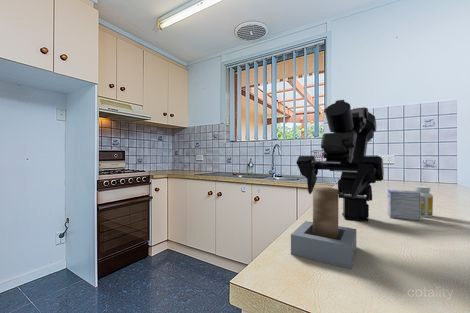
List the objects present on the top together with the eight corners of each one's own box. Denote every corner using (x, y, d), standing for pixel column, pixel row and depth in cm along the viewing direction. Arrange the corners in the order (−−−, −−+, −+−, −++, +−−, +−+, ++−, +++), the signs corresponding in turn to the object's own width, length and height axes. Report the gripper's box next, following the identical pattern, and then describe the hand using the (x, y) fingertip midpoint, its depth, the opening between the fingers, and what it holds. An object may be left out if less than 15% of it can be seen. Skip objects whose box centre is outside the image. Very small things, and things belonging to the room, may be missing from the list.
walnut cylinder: (308, 250, 47) (308, 189, 47) (319, 243, 51) (319, 186, 51) (332, 258, 44) (332, 191, 44) (342, 250, 47) (342, 189, 47)
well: (351, 268, 39) (351, 246, 39) (290, 253, 45) (290, 234, 45) (356, 247, 49) (356, 228, 49) (305, 237, 55) (305, 220, 55)
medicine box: (416, 217, 72) (416, 190, 72) (421, 221, 68) (421, 192, 68) (387, 214, 75) (387, 189, 75) (390, 218, 71) (390, 191, 71)
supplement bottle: (416, 216, 72) (416, 187, 72) (408, 212, 77) (408, 185, 77) (436, 218, 71) (436, 188, 71) (427, 214, 76) (427, 185, 76)
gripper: (299, 125, 59) (279, 169, 51) (382, 118, 48) (375, 173, 39) (309, 154, 66) (294, 198, 57) (385, 154, 54) (380, 209, 46)
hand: (329, 195), depth 50 cm, fingers open, 9 cm apart
